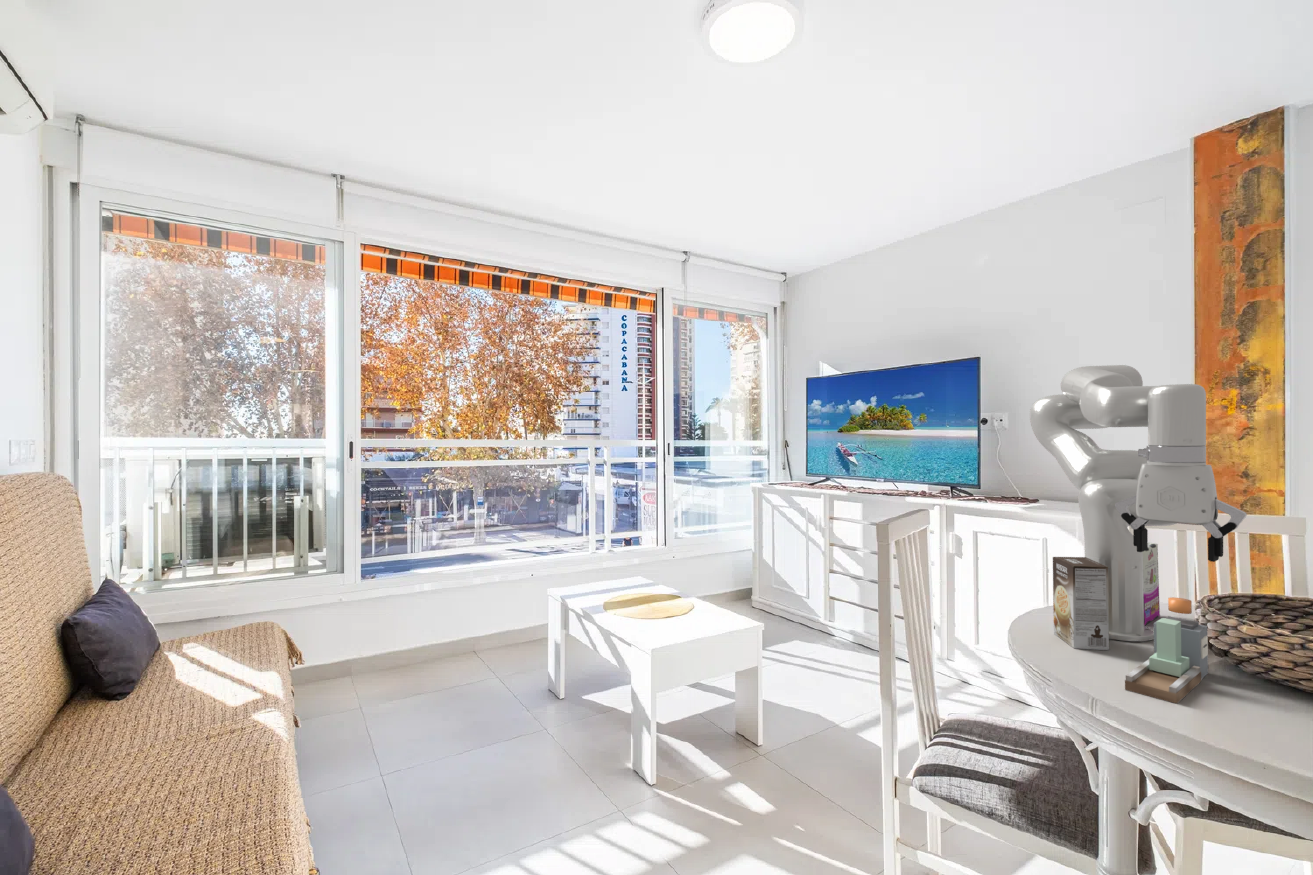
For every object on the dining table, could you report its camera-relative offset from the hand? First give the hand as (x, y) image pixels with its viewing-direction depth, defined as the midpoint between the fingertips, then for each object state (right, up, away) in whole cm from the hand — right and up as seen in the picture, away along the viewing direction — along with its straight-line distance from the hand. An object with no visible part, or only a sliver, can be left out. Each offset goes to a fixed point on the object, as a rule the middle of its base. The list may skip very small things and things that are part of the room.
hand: (1176, 555), depth 102 cm
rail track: (-7, -20, -6) cm, 22 cm away
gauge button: (+1, -10, 0) cm, 10 cm away
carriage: (-5, -18, -4) cm, 19 cm away
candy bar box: (+17, -20, +29) cm, 39 cm away
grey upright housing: (+1, -20, 0) cm, 20 cm away
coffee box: (-6, -20, +15) cm, 26 cm away
